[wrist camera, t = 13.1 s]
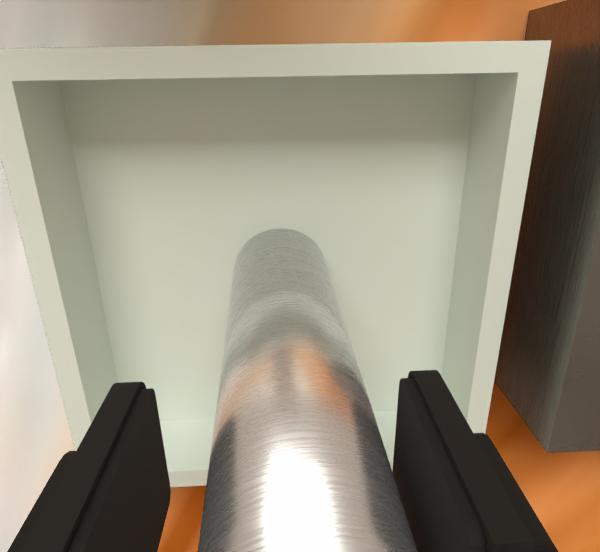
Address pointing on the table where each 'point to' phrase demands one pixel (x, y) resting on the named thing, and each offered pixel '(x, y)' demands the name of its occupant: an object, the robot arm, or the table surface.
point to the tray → (268, 208)
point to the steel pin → (295, 418)
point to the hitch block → (559, 244)
